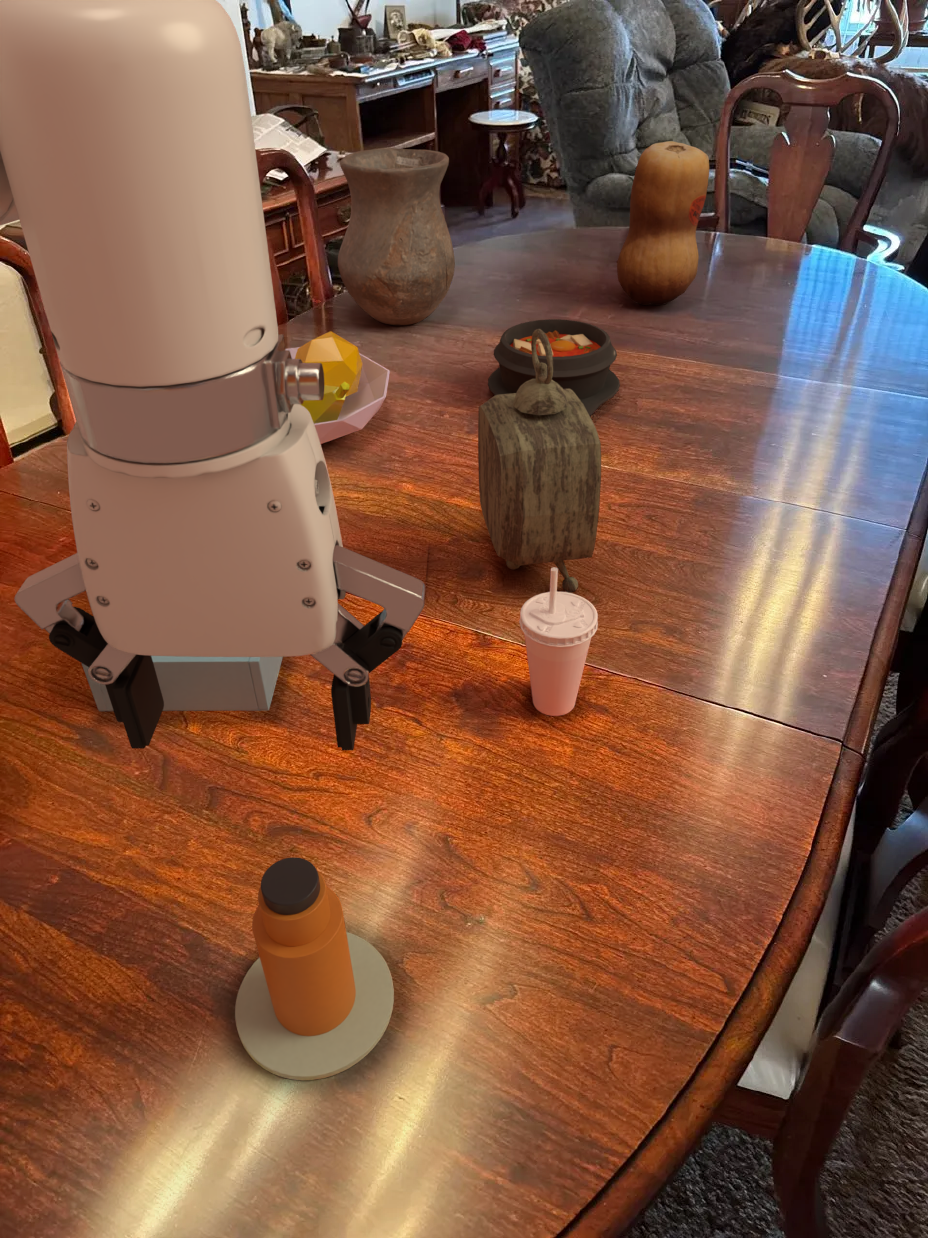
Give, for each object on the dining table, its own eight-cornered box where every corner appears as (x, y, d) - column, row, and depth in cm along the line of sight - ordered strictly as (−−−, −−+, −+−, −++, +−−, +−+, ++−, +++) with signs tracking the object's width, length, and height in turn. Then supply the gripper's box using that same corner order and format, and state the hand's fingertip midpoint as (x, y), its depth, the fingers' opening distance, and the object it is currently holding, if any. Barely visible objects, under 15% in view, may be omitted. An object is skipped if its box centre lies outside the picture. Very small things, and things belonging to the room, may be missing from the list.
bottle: (266, 1036, 56) (232, 920, 49) (281, 959, 61) (252, 842, 53) (351, 1036, 56) (330, 921, 49) (359, 960, 60) (341, 842, 53)
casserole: (616, 438, 120) (622, 376, 115) (475, 430, 123) (475, 370, 117) (620, 363, 140) (625, 308, 134) (499, 358, 142) (499, 303, 137)
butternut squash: (674, 321, 153) (694, 156, 138) (601, 307, 159) (612, 148, 144) (705, 297, 162) (727, 140, 147) (635, 285, 168) (649, 132, 153)
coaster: (220, 1080, 55) (218, 1076, 55) (253, 932, 63) (251, 928, 62) (387, 1081, 55) (387, 1077, 54) (399, 932, 63) (398, 928, 62)
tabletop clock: (591, 601, 92) (611, 360, 77) (503, 611, 91) (505, 369, 76) (556, 525, 103) (567, 302, 88) (477, 534, 102) (474, 310, 87)
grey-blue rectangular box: (270, 717, 80) (259, 661, 76) (100, 718, 80) (80, 662, 76) (298, 607, 92) (290, 554, 88) (152, 608, 92) (136, 555, 88)
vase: (343, 302, 164) (328, 147, 148) (450, 296, 165) (446, 142, 150) (344, 343, 148) (327, 174, 133) (462, 336, 150) (458, 168, 134)
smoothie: (516, 676, 83) (519, 546, 75) (588, 677, 83) (599, 546, 74) (517, 726, 78) (521, 593, 70) (593, 727, 78) (606, 593, 69)
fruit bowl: (186, 402, 131) (169, 324, 124) (371, 375, 138) (364, 299, 131) (205, 495, 110) (186, 407, 103) (422, 458, 117) (418, 373, 110)
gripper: (423, 354, 36) (432, 678, 47) (-11, 352, 37) (95, 675, 47) (412, 442, 31) (426, 790, 41) (-105, 440, 31) (40, 786, 41)
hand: (249, 728), depth 44 cm, fingers open, 9 cm apart
